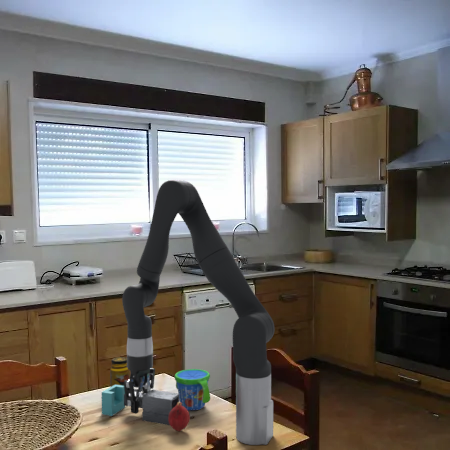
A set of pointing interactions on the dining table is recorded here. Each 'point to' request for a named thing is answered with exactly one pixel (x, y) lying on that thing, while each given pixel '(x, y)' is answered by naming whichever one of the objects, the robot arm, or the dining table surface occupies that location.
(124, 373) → the condiment
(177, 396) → the sleeve
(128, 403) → the slip tube
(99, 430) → the dining table surface
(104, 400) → the socket
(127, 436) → the dining table surface
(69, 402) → the dining table surface
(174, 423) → the onion
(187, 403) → the snack cup
